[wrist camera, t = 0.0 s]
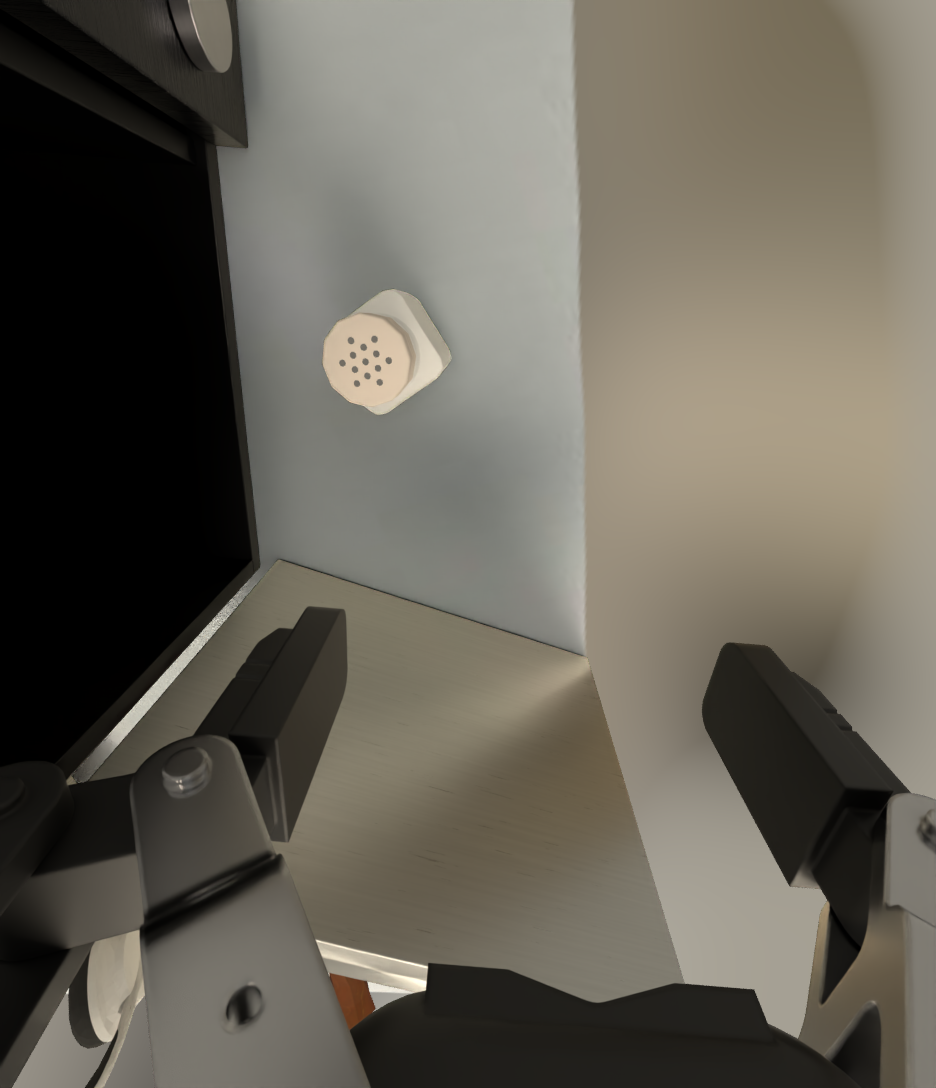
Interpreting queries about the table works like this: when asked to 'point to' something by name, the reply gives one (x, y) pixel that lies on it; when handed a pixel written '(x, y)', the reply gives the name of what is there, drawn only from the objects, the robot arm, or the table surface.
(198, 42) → the microwave
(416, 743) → the microwave door
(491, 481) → the table surface
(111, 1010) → the headphones
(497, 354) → the table surface
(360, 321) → the pepper shaker
